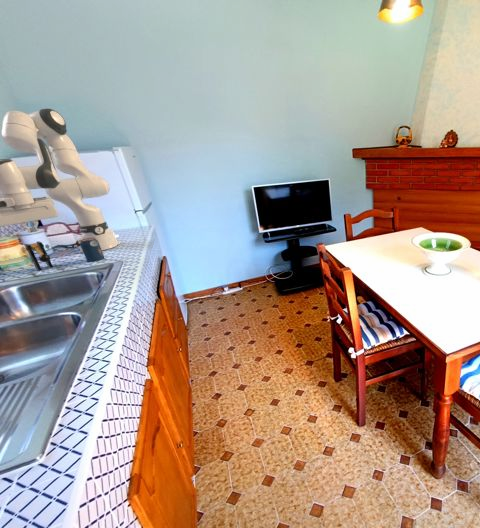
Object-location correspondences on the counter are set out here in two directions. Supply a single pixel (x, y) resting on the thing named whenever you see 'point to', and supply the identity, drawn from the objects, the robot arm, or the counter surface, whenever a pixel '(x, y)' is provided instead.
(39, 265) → the bracket
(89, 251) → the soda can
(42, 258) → the lever
